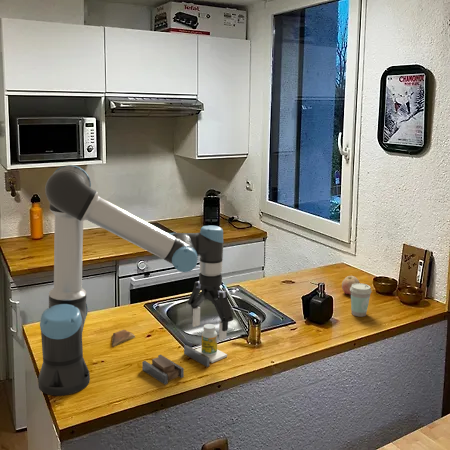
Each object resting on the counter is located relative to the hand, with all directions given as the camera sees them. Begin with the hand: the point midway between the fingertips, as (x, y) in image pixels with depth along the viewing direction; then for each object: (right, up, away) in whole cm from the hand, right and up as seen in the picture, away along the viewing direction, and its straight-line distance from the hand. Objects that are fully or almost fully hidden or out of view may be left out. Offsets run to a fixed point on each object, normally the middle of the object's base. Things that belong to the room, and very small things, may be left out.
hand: (209, 332), depth 186 cm
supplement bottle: (0, -7, +2) cm, 8 cm away
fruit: (+62, +5, +62) cm, 88 cm away
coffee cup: (+60, 0, +39) cm, 72 cm away
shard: (-31, -6, +12) cm, 34 cm away
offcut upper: (-14, -9, -11) cm, 20 cm away
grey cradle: (-10, -10, -8) cm, 16 cm away
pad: (0, -8, +2) cm, 8 cm away
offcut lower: (-14, -11, -11) cm, 21 cm away
